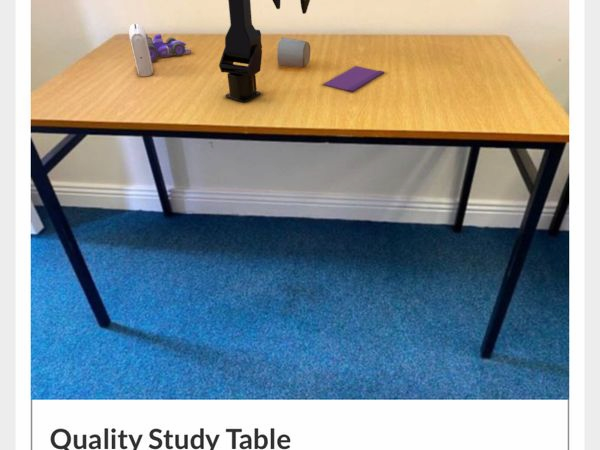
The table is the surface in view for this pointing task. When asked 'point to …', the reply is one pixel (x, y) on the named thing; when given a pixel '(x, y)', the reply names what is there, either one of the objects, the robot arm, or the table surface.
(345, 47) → the table surface
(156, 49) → the toy race car
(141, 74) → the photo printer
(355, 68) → the cloth
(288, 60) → the ceramic mug
